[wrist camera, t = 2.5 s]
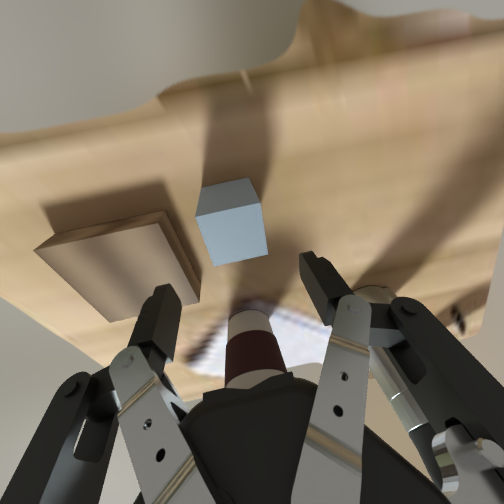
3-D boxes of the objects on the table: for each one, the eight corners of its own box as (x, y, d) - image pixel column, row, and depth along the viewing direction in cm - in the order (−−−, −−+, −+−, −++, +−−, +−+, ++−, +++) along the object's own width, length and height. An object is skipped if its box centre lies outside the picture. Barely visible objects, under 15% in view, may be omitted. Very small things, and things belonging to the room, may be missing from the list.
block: (248, 177, 20) (260, 202, 15) (255, 219, 23) (268, 254, 18) (201, 187, 20) (195, 216, 15) (214, 228, 23) (214, 266, 18)
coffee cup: (254, 294, 31) (277, 412, 19) (285, 320, 36) (318, 424, 24) (208, 322, 33) (202, 442, 21) (243, 343, 39) (254, 447, 27)
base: (164, 210, 21) (157, 223, 19) (200, 286, 28) (199, 302, 26) (54, 234, 21) (33, 250, 18) (119, 304, 28) (109, 322, 26)
